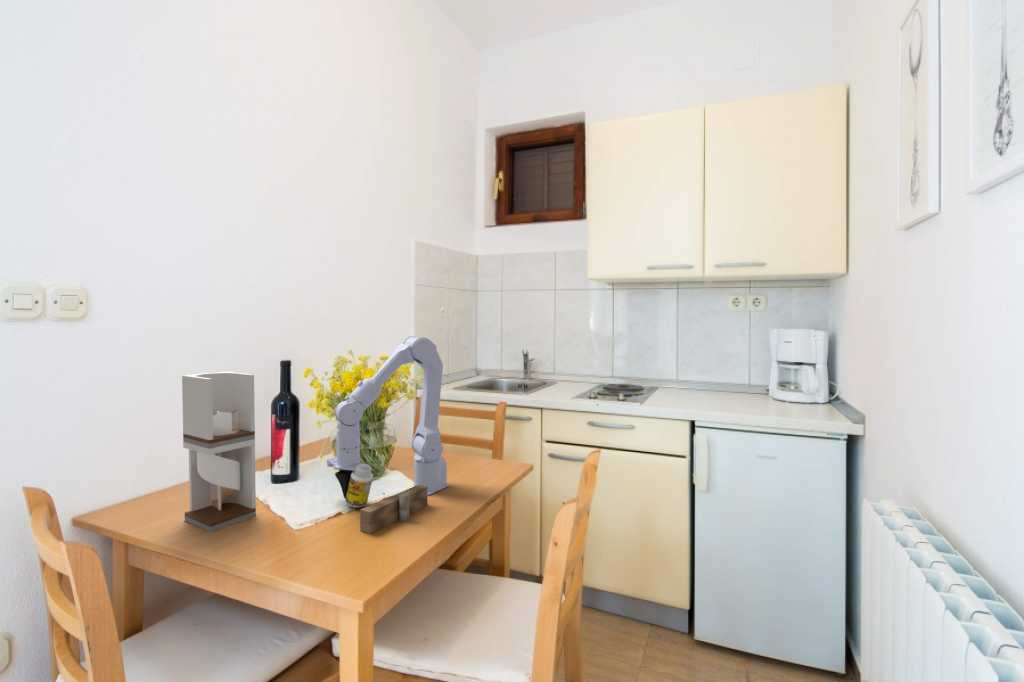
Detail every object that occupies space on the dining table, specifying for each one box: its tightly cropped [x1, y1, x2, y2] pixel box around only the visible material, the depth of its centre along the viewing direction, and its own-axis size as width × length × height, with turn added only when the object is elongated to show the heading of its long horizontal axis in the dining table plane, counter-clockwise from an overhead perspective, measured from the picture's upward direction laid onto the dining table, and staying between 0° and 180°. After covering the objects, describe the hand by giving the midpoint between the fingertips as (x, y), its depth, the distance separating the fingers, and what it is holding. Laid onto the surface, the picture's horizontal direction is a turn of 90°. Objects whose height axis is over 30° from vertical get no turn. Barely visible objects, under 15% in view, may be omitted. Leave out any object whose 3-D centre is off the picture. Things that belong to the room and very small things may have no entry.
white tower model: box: [181, 371, 257, 533], centre depth 115 cm, size 11×11×35 cm
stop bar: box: [359, 484, 429, 535], centre depth 117 cm, size 20×5×6 cm, turn 149°
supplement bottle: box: [345, 463, 374, 508], centre depth 124 cm, size 6×6×10 cm
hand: (348, 497), depth 126 cm, fingers closed, pressing on supplement bottle
